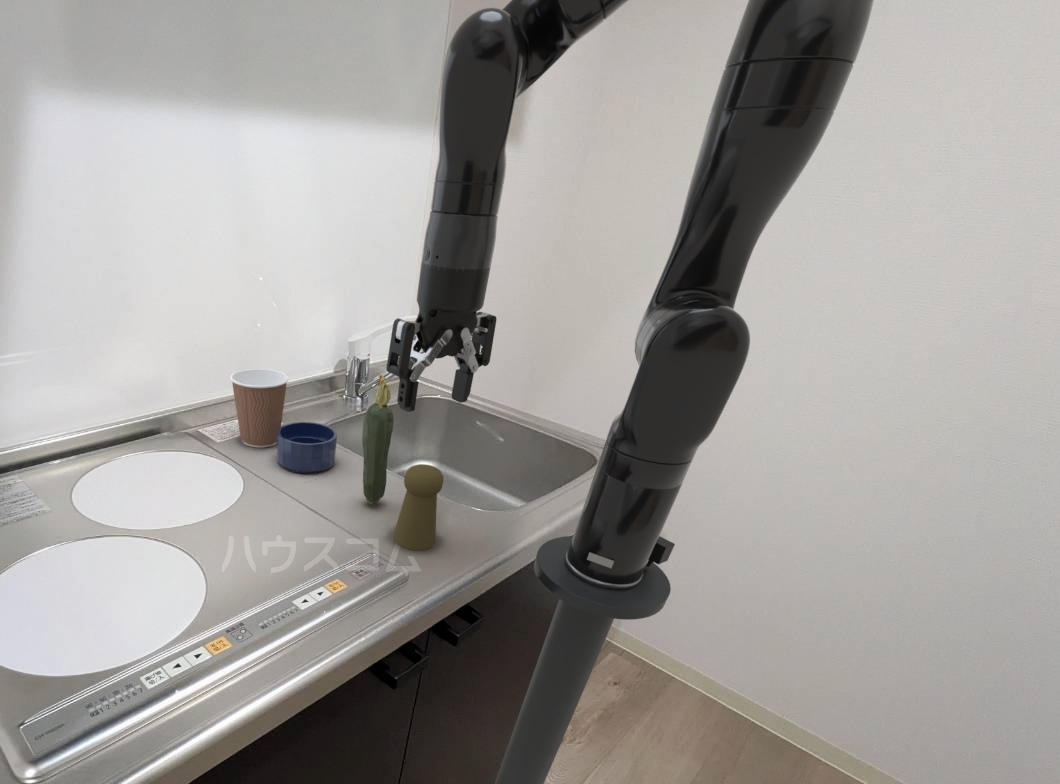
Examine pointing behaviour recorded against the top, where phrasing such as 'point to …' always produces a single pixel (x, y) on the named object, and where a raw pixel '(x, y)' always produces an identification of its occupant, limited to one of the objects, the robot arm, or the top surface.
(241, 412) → the coffee cup
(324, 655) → the top surface
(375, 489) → the vegetable
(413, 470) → the cork
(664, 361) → the robot arm
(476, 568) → the top surface
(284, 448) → the bowl
